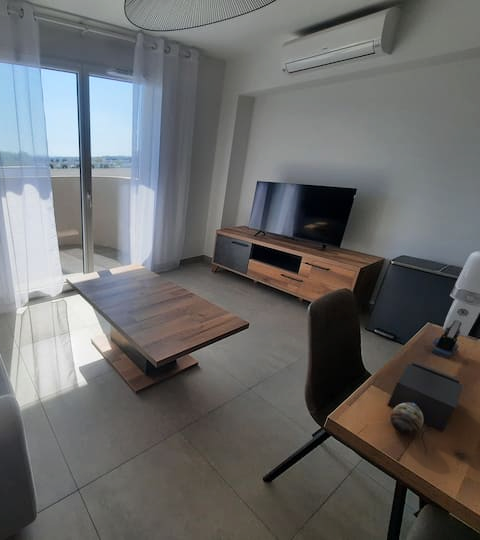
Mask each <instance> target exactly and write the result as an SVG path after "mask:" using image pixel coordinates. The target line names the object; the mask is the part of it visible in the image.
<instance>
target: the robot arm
mask: <svg viewBox="0 0 480 540" xmlns="http://www.w3.org/2000/svg"><path fill="white" fill-rule="evenodd" d="M449 297H451V298H452V299H453V301H452V304H451V306H450V308H449V311H448V313H447V315H446V318H445V321H444V323H443V327H442V330H443V331H444V332H443V333H442V334H441V336H440V337H439V338H440V340H439V342H438V343H437V345H436V347H438V348H441V349H443V350H446V351H449V352H451V351H452V349H453V347H454V345H455V343H457V342H458V338H459V336H462V337H463V338H466V337H468V335H469V333H470V331H471V329H472V327H473V326H474V324H475V323H476V320H477V319H478V317H479V315H480V250H477V251H473V252H472V253H470V255H469V256H468V257H467V259H466V262H465V264H464V266H463V267H462V269H461V271H460V274H459V276H458V277H457V280H456V281H455V284H454V285H453V288H452V290H451V292H450V294H449Z"/></svg>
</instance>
